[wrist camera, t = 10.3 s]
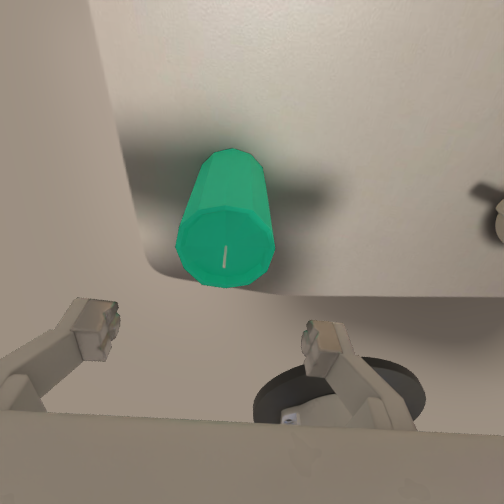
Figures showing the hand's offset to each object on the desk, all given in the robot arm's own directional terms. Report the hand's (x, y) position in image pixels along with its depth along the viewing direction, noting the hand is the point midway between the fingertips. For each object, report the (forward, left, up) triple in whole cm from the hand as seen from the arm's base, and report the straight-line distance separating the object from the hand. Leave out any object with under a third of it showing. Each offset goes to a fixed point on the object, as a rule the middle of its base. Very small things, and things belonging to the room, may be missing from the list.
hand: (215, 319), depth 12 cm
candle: (0, 0, -16) cm, 16 cm away
